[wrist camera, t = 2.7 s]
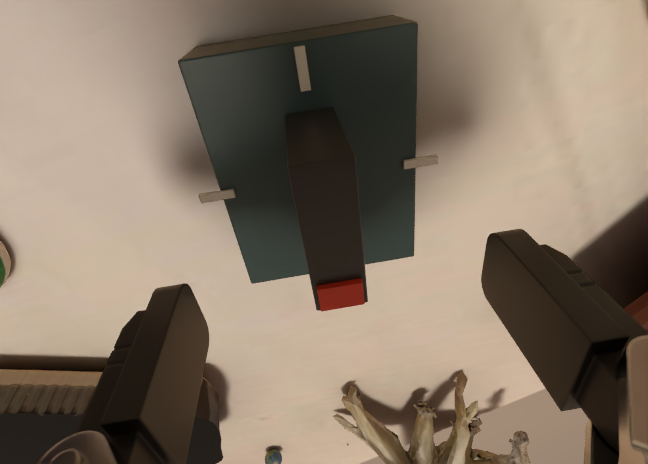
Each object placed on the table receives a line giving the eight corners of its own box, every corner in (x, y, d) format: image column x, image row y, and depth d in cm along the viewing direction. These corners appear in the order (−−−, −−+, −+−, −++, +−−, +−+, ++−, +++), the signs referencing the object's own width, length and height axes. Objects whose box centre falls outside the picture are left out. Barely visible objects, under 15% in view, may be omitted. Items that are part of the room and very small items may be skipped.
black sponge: (228, 362, 25) (222, 413, 22) (221, 427, 30) (215, 478, 27) (-49, 350, 22) (-102, 408, 19) (-10, 425, 26) (-47, 482, 23)
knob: (284, 114, 13) (287, 170, 9) (333, 106, 13) (356, 158, 9) (307, 236, 16) (317, 316, 12) (347, 230, 16) (369, 307, 12)
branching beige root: (513, 355, 33) (487, 504, 35) (339, 334, 33) (322, 482, 35) (574, 413, 24) (535, 607, 26) (339, 385, 25) (317, 577, 27)
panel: (172, 50, 14) (149, 65, 12) (415, 11, 14) (445, 18, 12) (239, 249, 20) (233, 289, 17) (412, 220, 20) (432, 255, 18)
